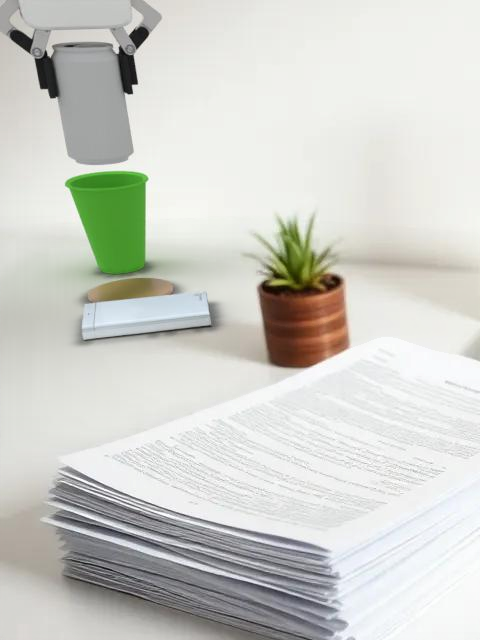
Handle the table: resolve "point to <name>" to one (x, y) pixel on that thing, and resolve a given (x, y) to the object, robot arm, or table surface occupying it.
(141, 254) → the cup
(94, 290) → the coaster
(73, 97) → the beverage can
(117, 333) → the hard drive
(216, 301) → the table surface
